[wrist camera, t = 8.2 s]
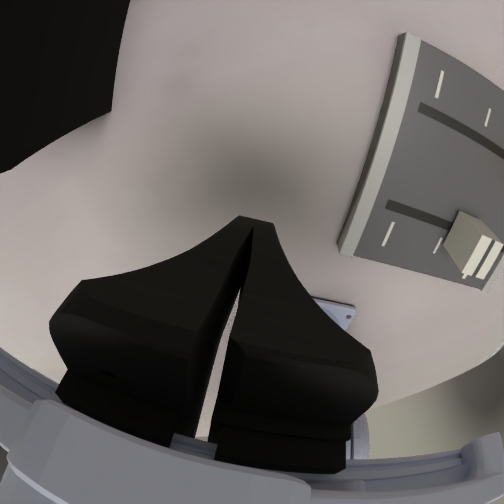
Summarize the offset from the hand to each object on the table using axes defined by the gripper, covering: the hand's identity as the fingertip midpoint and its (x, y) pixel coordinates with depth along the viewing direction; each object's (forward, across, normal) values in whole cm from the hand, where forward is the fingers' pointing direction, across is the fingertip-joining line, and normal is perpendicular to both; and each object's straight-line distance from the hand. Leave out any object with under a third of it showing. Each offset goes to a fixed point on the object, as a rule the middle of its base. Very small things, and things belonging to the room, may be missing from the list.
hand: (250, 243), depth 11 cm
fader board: (+10, -14, -4) cm, 18 cm away
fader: (+8, -15, 0) cm, 17 cm away
